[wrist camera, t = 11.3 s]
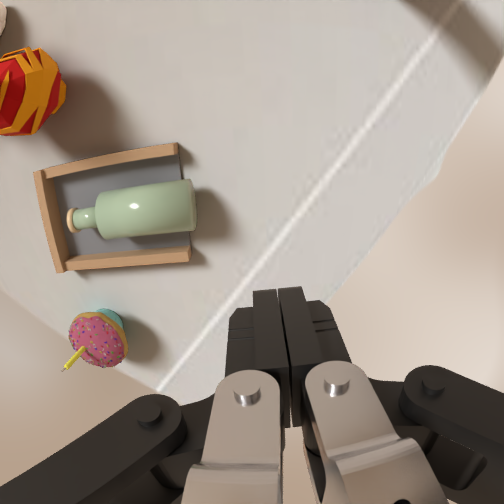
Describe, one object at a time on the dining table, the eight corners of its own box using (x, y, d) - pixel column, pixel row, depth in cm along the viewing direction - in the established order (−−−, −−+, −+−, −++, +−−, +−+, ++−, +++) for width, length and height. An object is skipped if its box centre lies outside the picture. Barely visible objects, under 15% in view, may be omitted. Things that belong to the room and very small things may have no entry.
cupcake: (82, 334, 42) (49, 386, 31) (83, 288, 40) (42, 338, 28) (133, 352, 44) (109, 410, 32) (139, 307, 41) (111, 365, 30)
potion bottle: (64, 146, 32) (-17, 164, 18) (12, 120, 30) (-68, 131, 16) (98, 67, 29) (23, 44, 15) (41, 47, 27) (-36, 29, 13)
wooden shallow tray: (177, 142, 33) (171, 143, 30) (192, 253, 38) (188, 263, 35) (46, 168, 33) (33, 172, 30) (66, 263, 38) (56, 273, 35)
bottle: (183, 183, 29) (56, 204, 29) (191, 237, 31) (67, 250, 31) (192, 175, 34) (78, 193, 34) (198, 221, 36) (87, 234, 36)
